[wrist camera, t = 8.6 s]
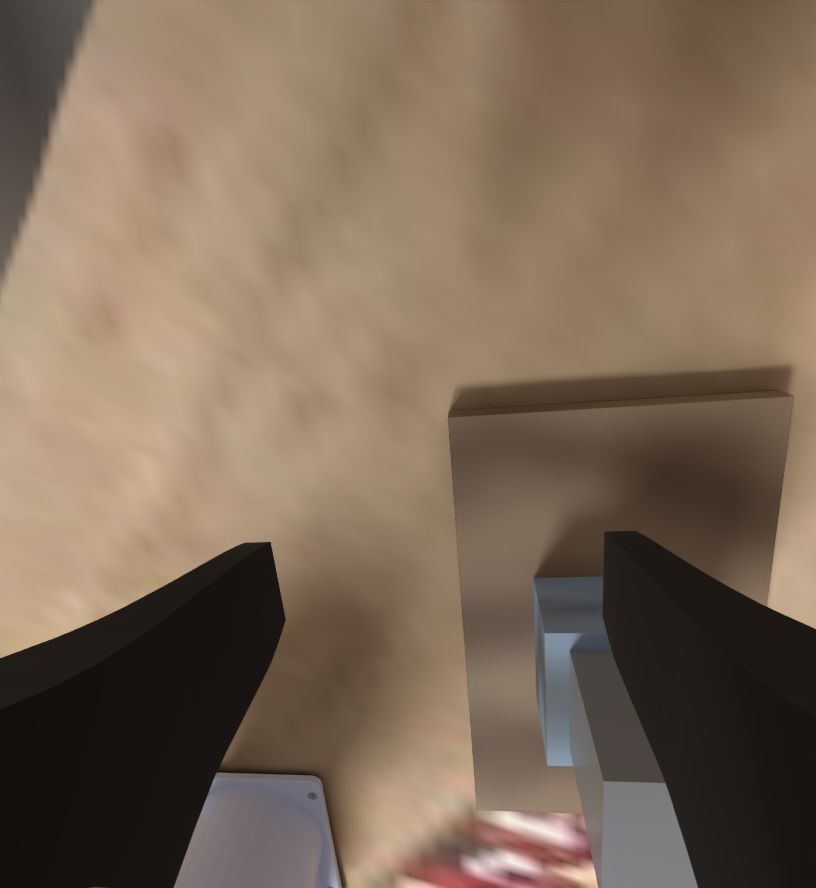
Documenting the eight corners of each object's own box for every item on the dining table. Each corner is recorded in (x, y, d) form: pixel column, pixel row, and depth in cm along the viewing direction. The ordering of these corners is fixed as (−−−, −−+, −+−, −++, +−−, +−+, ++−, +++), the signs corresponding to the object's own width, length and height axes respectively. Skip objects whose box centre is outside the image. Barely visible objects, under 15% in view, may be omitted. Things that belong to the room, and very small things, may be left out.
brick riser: (728, 799, 25) (781, 906, 21) (476, 791, 27) (477, 888, 23) (778, 390, 19) (865, 424, 15) (449, 411, 21) (443, 447, 17)
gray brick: (694, 751, 19) (767, 907, 14) (569, 748, 20) (600, 898, 15) (703, 650, 18) (787, 786, 13) (569, 650, 18) (604, 781, 14)
